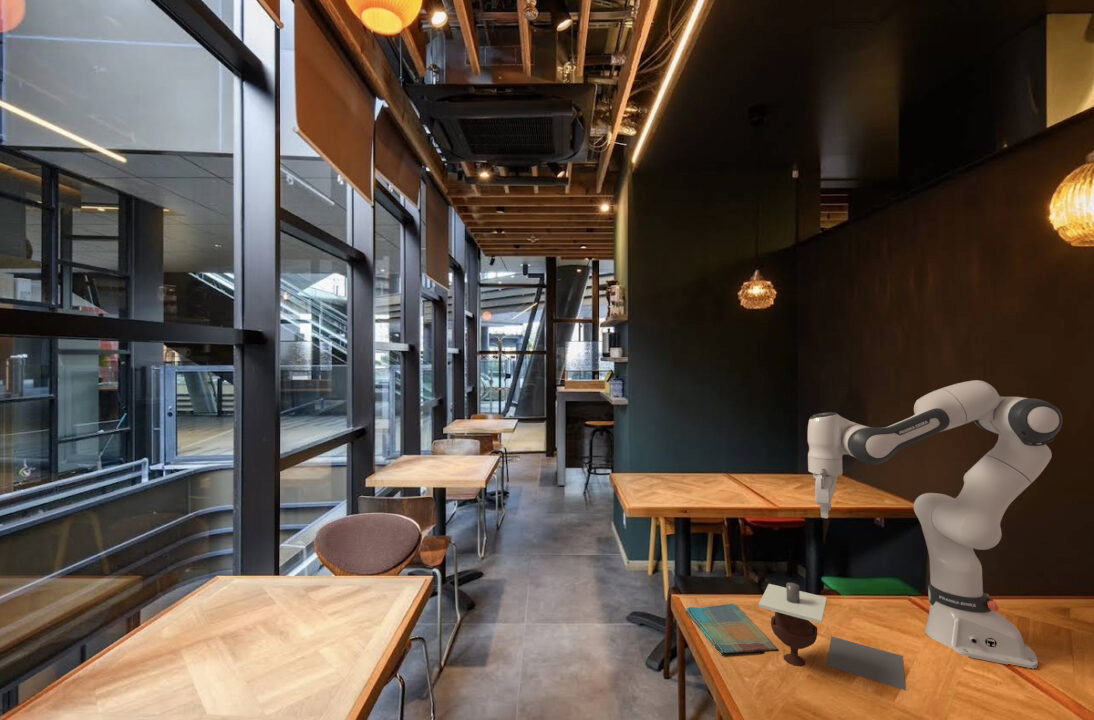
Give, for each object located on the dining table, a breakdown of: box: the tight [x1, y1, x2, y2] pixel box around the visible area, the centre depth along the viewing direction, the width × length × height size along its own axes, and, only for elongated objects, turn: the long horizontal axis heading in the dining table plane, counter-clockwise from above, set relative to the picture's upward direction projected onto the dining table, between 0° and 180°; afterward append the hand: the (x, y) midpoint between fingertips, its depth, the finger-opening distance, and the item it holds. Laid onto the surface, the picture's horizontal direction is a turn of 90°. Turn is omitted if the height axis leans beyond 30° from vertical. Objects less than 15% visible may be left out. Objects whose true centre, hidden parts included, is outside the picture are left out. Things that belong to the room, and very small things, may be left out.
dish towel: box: [685, 603, 780, 657], centre depth 135 cm, size 17×23×2 cm
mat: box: [826, 636, 907, 691], centre depth 119 cm, size 16×16×1 cm
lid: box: [758, 582, 828, 625], centre depth 120 cm, size 14×14×5 cm
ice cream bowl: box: [770, 611, 818, 667], centre depth 120 cm, size 11×11×15 cm
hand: (826, 513), depth 138 cm, fingers open, 8 cm apart
